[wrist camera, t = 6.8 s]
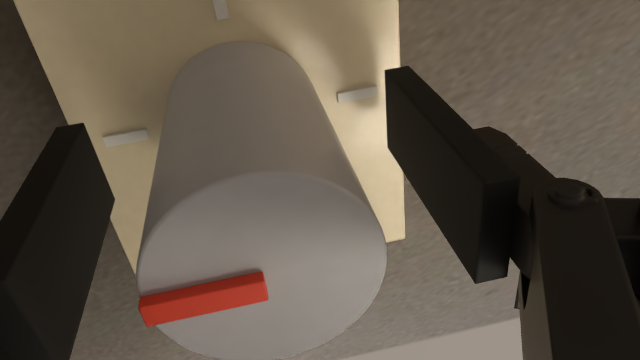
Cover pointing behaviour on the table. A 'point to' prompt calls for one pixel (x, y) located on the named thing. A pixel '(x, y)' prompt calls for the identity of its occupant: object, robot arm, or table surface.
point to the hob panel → (188, 41)
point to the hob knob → (254, 213)
